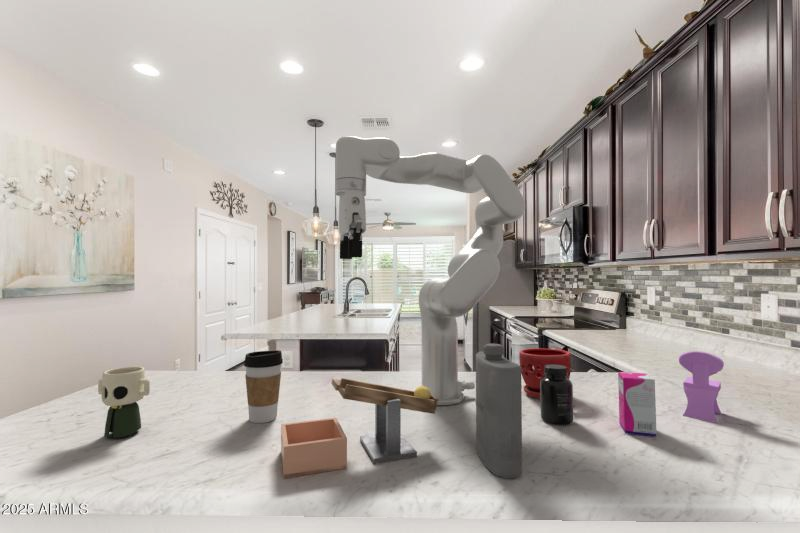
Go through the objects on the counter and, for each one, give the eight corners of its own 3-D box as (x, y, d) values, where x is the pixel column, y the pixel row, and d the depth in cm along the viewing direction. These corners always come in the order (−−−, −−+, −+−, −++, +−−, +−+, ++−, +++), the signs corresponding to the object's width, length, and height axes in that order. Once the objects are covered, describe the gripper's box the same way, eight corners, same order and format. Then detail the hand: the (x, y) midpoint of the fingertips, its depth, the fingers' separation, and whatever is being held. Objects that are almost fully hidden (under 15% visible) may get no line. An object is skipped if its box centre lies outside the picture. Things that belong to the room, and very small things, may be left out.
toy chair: (726, 413, 92) (725, 349, 92) (723, 424, 85) (722, 355, 86) (683, 405, 98) (682, 345, 98) (677, 414, 91) (676, 350, 91)
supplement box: (648, 426, 84) (648, 372, 84) (657, 437, 78) (656, 379, 79) (618, 423, 86) (617, 370, 86) (624, 433, 80) (623, 377, 80)
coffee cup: (270, 426, 84) (271, 356, 84) (235, 423, 86) (235, 354, 86) (289, 413, 92) (289, 349, 92) (256, 410, 94) (257, 347, 94)
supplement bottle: (573, 417, 89) (573, 364, 89) (573, 428, 83) (572, 371, 83) (541, 413, 92) (541, 362, 92) (538, 423, 86) (538, 368, 86)
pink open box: (336, 443, 75) (336, 417, 75) (346, 468, 66) (346, 438, 66) (280, 451, 72) (281, 424, 72) (283, 478, 62) (283, 446, 62)
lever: (414, 399, 83) (418, 385, 84) (434, 415, 74) (437, 399, 74) (331, 384, 78) (334, 369, 78) (340, 399, 68) (344, 382, 69)
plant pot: (574, 393, 108) (574, 349, 108) (566, 406, 97) (565, 357, 97) (526, 386, 115) (526, 345, 115) (513, 397, 104) (513, 352, 104)
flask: (470, 440, 77) (469, 338, 77) (499, 439, 77) (499, 338, 78) (489, 479, 62) (489, 353, 62) (526, 479, 62) (525, 352, 63)
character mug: (82, 440, 77) (84, 374, 77) (112, 426, 84) (113, 365, 84) (135, 442, 76) (136, 375, 76) (160, 428, 83) (161, 366, 83)
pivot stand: (398, 435, 79) (398, 385, 80) (416, 456, 70) (416, 400, 70) (360, 440, 77) (360, 389, 77) (373, 463, 67) (373, 405, 68)
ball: (419, 403, 77) (429, 390, 78) (426, 408, 74) (436, 395, 75) (408, 394, 77) (418, 380, 77) (414, 398, 74) (424, 385, 74)
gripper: (375, 182, 90) (375, 256, 89) (357, 196, 106) (356, 259, 106) (343, 179, 87) (342, 256, 87) (329, 194, 103) (328, 259, 103)
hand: (350, 258), depth 96 cm, fingers open, 9 cm apart
